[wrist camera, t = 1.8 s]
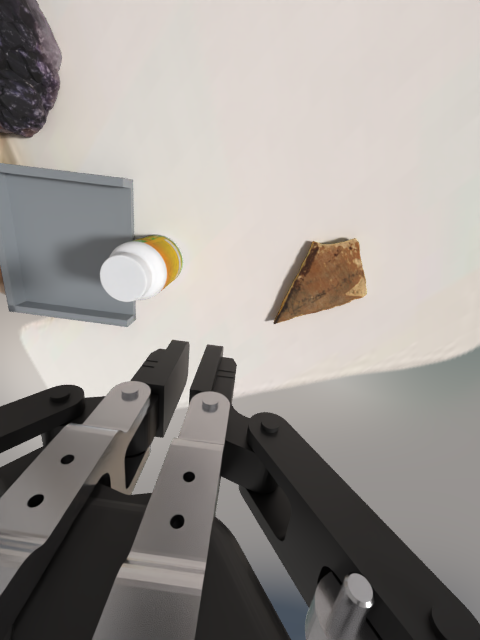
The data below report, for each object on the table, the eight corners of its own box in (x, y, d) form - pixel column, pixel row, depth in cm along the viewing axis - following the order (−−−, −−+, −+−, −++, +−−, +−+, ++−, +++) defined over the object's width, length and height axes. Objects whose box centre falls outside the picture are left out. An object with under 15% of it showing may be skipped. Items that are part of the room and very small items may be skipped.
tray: (0, 163, 31) (-20, 160, 28) (132, 179, 30) (122, 178, 28) (24, 304, 36) (9, 311, 34) (135, 319, 36) (127, 327, 34)
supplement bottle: (166, 224, 32) (127, 232, 23) (193, 268, 33) (167, 291, 24) (127, 250, 33) (77, 266, 24) (155, 290, 35) (118, 320, 26)
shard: (273, 319, 35) (273, 325, 34) (254, 259, 33) (253, 262, 31) (364, 294, 33) (370, 298, 32) (351, 227, 31) (357, 228, 29)
